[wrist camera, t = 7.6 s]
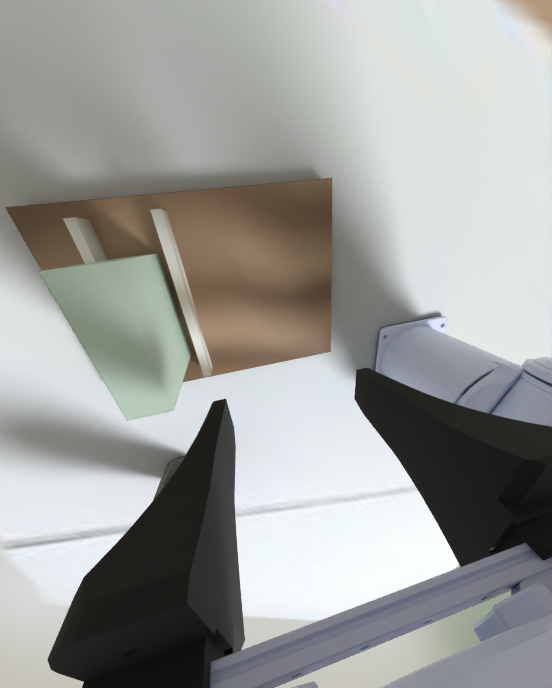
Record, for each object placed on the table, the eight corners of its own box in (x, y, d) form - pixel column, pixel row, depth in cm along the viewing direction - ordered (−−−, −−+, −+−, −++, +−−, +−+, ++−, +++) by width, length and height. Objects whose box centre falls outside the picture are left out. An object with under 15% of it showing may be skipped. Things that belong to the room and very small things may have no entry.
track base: (325, 346, 22) (337, 358, 20) (121, 387, 20) (106, 407, 17) (324, 182, 16) (342, 171, 14) (22, 210, 13) (-22, 203, 11)
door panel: (191, 353, 18) (173, 410, 12) (161, 359, 18) (126, 421, 12) (157, 253, 15) (108, 262, 9) (119, 258, 14) (38, 271, 8)
